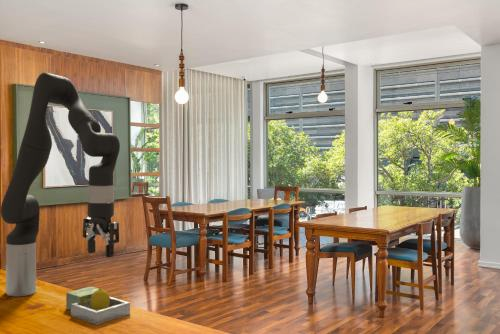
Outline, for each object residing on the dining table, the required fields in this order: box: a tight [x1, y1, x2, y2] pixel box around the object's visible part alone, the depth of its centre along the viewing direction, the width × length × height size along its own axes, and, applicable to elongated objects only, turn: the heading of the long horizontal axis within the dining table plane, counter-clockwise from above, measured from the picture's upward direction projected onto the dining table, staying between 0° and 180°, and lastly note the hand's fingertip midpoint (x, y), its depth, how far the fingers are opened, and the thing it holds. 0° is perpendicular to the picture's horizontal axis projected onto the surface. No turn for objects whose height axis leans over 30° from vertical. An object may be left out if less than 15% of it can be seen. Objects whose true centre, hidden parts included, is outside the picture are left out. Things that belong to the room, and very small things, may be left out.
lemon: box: [91, 287, 111, 311], centre depth 152 cm, size 6×6×8 cm
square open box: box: [65, 286, 131, 326], centre depth 154 cm, size 19×12×5 cm, turn 53°
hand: (100, 254), depth 152 cm, fingers open, 8 cm apart
